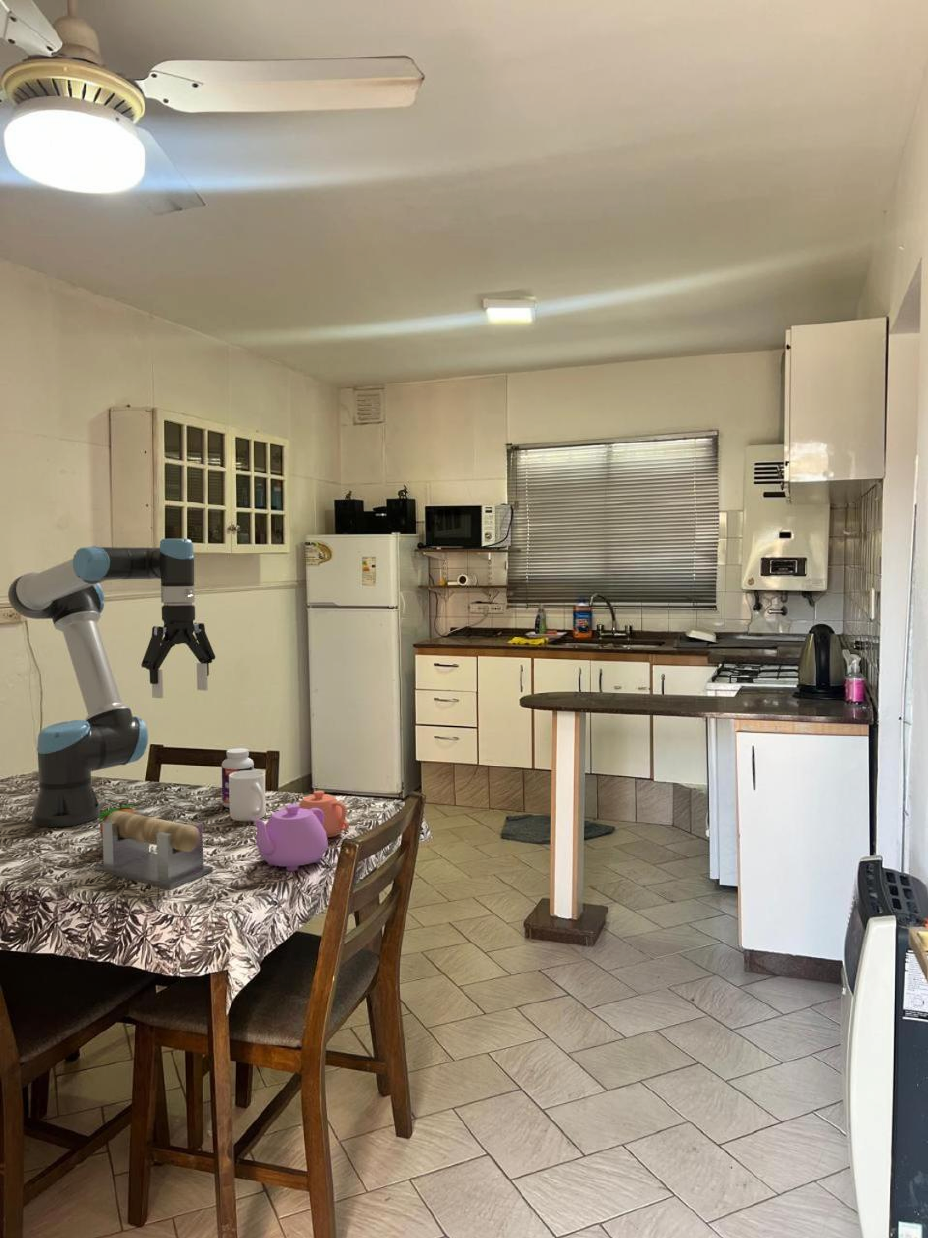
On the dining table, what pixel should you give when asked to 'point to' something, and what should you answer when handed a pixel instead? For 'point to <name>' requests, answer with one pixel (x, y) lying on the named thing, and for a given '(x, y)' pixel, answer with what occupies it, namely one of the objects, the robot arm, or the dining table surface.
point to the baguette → (154, 830)
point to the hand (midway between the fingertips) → (180, 694)
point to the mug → (247, 795)
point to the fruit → (108, 812)
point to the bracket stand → (151, 858)
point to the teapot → (292, 837)
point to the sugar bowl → (327, 811)
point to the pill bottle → (234, 769)
